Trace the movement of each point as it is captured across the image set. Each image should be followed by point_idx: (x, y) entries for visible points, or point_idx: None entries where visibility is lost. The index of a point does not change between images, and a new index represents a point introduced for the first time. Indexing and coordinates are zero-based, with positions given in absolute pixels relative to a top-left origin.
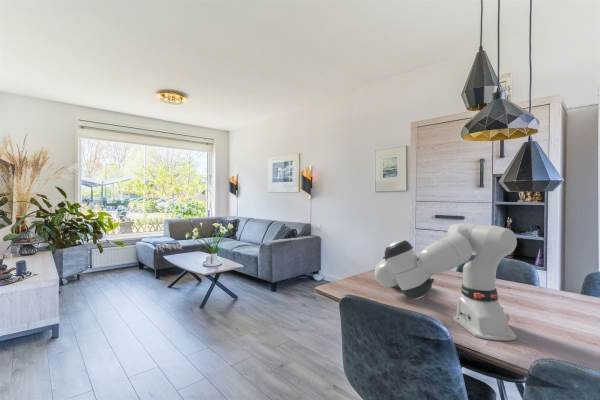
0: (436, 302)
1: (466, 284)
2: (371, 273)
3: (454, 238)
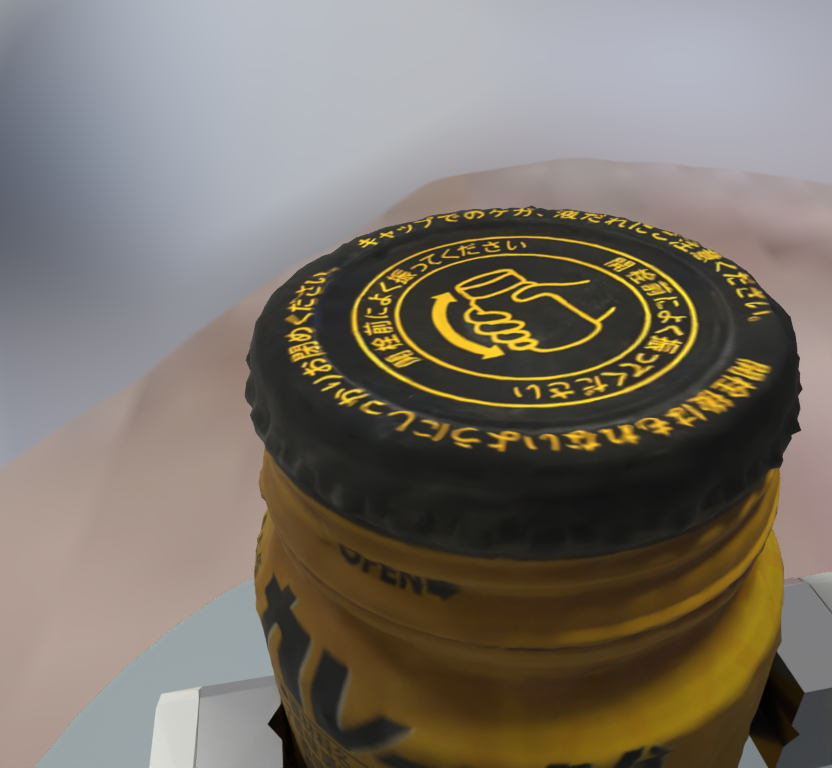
0: None
1: None
2: (11, 519)
3: None
